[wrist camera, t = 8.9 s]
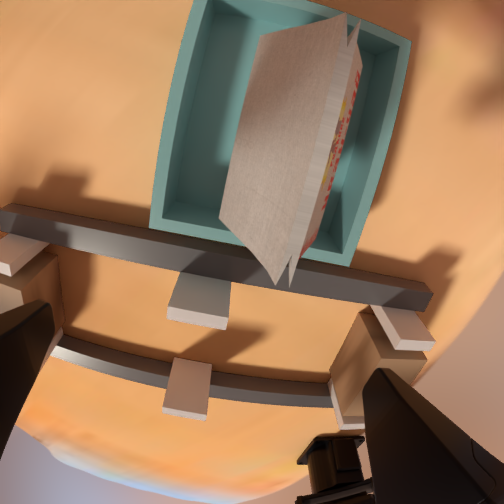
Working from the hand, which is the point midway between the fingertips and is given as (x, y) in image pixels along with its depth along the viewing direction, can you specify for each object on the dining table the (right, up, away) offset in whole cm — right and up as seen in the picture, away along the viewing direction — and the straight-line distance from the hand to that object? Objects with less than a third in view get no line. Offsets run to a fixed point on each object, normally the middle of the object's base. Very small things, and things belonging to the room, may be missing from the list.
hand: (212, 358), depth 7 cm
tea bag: (+2, +9, +8) cm, 12 cm away
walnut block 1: (-15, 0, +12) cm, 20 cm away
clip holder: (-3, -2, +14) cm, 14 cm away
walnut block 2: (+10, -5, +15) cm, 19 cm away
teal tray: (+2, +10, +8) cm, 13 cm away
